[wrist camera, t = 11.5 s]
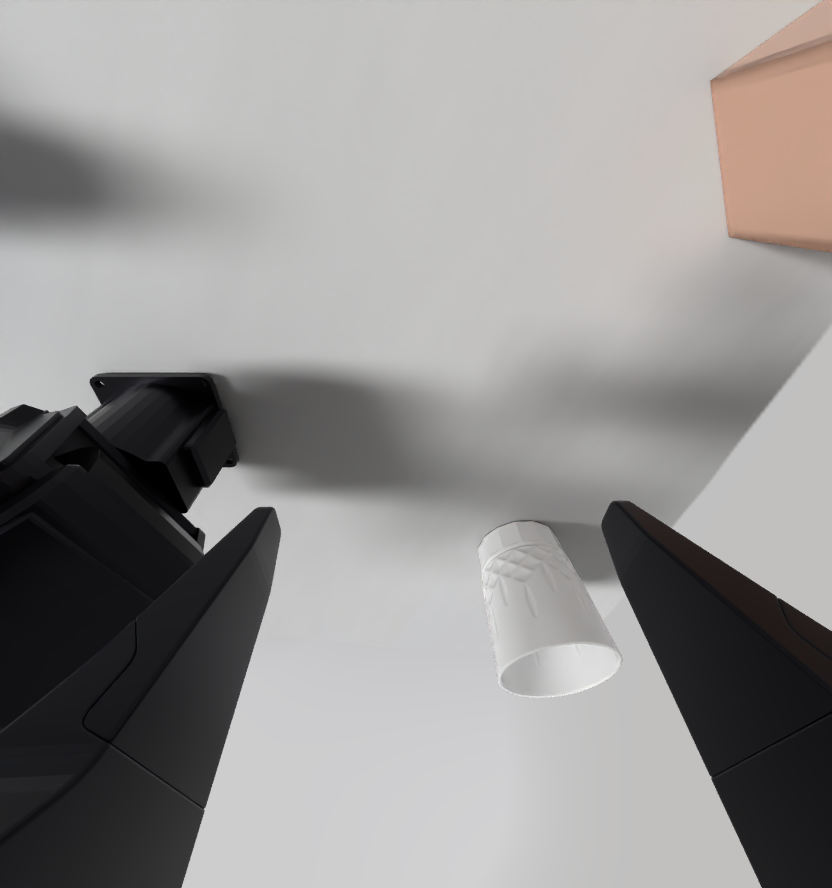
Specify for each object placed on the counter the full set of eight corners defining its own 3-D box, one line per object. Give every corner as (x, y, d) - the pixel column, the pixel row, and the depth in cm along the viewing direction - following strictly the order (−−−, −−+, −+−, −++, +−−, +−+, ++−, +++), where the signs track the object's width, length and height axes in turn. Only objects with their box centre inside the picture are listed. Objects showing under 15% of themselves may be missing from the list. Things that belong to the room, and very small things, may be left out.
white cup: (551, 502, 28) (615, 629, 20) (570, 557, 33) (628, 681, 24) (457, 533, 30) (481, 664, 22) (487, 583, 34) (516, 706, 26)
